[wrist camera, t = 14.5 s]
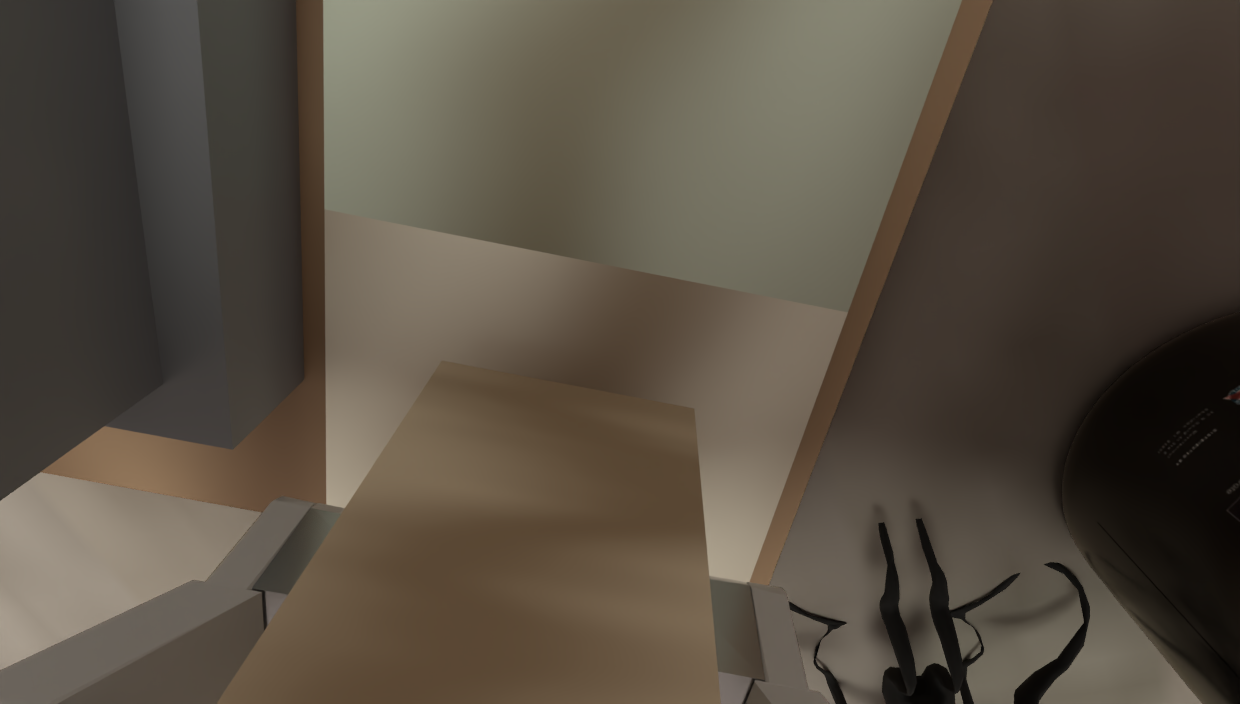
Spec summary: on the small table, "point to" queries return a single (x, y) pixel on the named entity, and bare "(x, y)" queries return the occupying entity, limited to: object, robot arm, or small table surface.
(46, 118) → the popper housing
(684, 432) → the pawn
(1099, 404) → the supplement bottle
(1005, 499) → the small table surface
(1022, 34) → the small table surface
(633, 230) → the board
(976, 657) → the creature
